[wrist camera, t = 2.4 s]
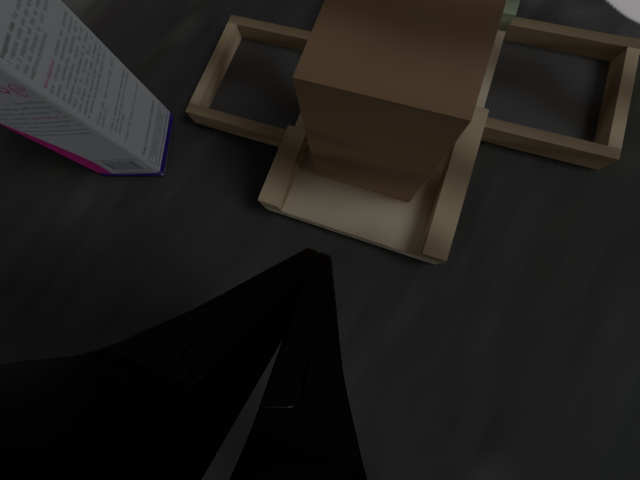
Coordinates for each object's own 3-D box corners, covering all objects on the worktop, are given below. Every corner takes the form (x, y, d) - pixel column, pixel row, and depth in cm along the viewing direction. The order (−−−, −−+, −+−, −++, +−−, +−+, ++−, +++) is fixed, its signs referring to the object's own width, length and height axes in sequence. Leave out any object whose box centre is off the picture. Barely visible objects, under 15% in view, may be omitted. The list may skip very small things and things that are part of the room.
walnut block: (409, 202, 18) (471, 120, 9) (315, 174, 19) (292, 77, 10) (436, 116, 19) (515, -31, 10) (346, 94, 20) (348, -57, 11)
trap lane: (569, 309, 17) (637, 315, 13) (170, 177, 21) (131, 152, 17) (626, 24, 20) (694, -39, 16) (271, -38, 25) (257, -100, 21)
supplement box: (175, 113, 22) (7, -62, 11) (165, 177, 21) (-31, 54, 10) (114, 114, 23) (-104, -51, 12) (101, 177, 22) (-152, 60, 11)
